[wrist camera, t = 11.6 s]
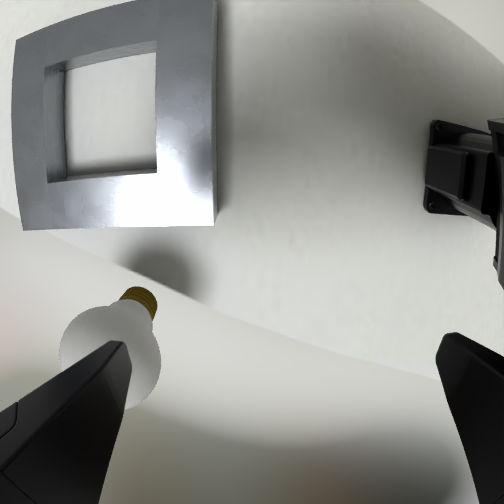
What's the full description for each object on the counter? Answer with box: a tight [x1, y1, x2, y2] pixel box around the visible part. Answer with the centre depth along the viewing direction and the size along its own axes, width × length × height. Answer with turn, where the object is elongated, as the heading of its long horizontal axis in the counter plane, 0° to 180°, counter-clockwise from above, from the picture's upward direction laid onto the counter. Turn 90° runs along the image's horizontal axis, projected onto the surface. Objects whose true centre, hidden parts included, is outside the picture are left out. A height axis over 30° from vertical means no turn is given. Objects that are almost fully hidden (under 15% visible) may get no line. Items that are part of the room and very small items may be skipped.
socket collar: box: [11, 0, 218, 230], centre depth 16 cm, size 14×14×2 cm
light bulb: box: [59, 287, 161, 409], centre depth 17 cm, size 6×6×10 cm
